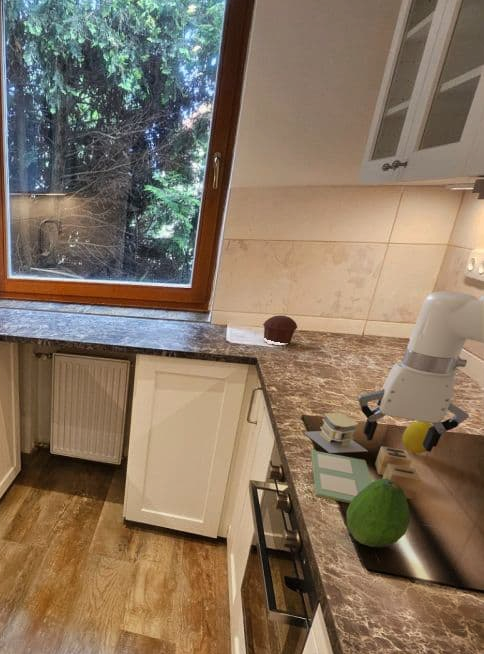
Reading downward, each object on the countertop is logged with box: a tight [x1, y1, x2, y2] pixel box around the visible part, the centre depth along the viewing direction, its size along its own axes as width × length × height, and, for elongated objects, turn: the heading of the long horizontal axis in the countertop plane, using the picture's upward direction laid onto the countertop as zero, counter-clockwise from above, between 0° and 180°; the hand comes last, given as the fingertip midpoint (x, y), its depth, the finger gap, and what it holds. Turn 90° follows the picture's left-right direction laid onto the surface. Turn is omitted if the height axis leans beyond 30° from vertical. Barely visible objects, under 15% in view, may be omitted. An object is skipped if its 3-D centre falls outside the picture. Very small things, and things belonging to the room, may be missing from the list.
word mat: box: [310, 449, 373, 504], centre depth 94 cm, size 10×18×1 cm, turn 154°
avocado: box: [346, 478, 410, 548], centre depth 74 cm, size 8×8×12 cm
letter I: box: [381, 463, 422, 500], centre depth 89 cm, size 4×4×4 cm
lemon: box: [401, 421, 434, 455], centre depth 101 cm, size 6×6×8 cm
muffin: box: [262, 315, 298, 344], centre depth 176 cm, size 12×11×10 cm
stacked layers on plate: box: [302, 412, 368, 454], centre depth 107 cm, size 10×9×6 cm
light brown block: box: [374, 445, 413, 476], centre depth 95 cm, size 4×4×5 cm
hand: (396, 442), depth 93 cm, fingers open, 9 cm apart
